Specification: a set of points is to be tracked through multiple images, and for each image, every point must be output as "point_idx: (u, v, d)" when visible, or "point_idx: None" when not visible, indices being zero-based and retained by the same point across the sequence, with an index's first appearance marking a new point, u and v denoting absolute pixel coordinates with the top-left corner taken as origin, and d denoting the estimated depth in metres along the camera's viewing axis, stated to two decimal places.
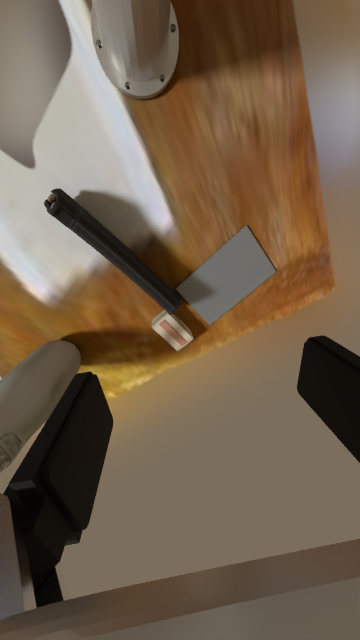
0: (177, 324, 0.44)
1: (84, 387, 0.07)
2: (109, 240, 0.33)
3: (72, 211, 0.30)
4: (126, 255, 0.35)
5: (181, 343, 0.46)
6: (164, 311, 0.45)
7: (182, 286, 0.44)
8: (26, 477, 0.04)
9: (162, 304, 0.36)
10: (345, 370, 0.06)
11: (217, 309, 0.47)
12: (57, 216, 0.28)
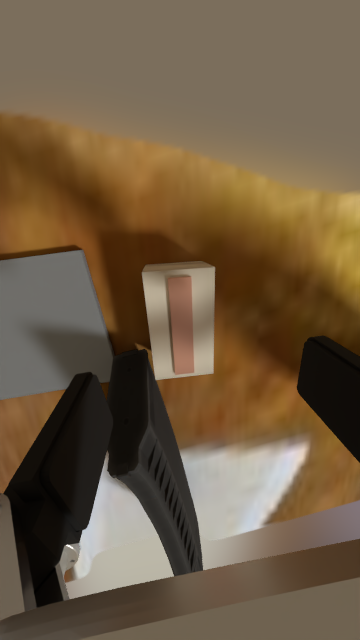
0: (154, 343, 0.15)
1: (84, 387, 0.07)
2: None
3: None
4: None
5: (184, 287, 0.13)
6: None
7: (103, 377, 0.20)
8: (26, 477, 0.04)
9: (142, 479, 0.13)
10: (345, 370, 0.06)
11: (38, 284, 0.16)
12: None
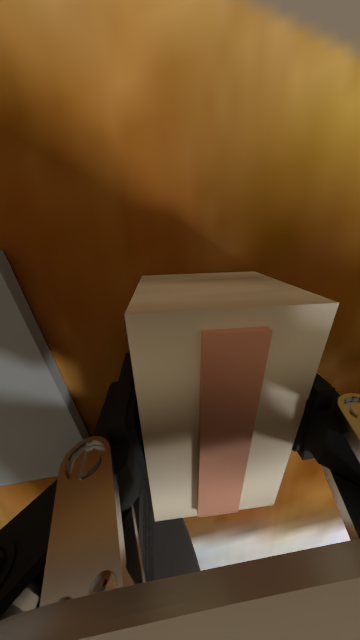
0: (156, 467, 0.06)
1: None
2: None
3: None
4: None
5: (248, 358, 0.05)
6: None
7: None
8: (117, 423, 0.05)
9: None
10: None
11: None
12: None
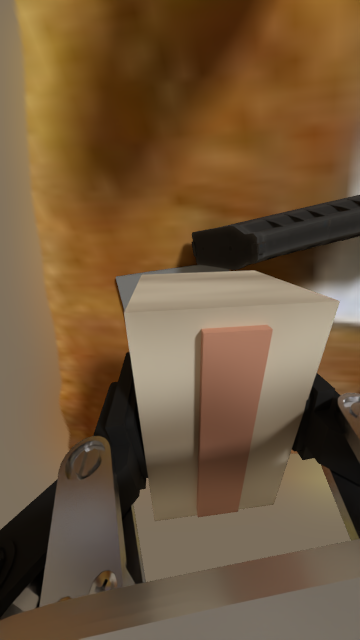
0: (155, 466, 0.06)
1: None
2: None
3: None
4: None
5: (248, 357, 0.05)
6: None
7: None
8: (117, 423, 0.05)
9: (285, 232, 0.13)
10: None
11: None
12: None
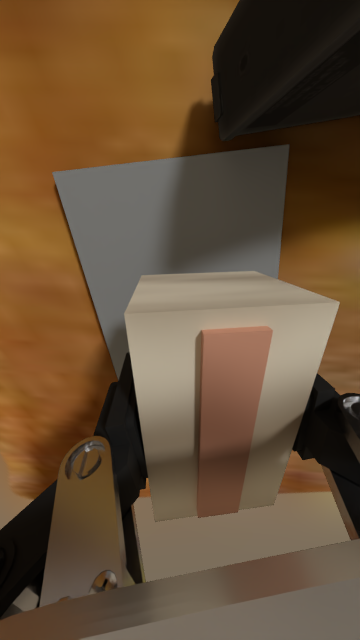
0: (156, 467, 0.06)
1: None
2: None
3: None
4: None
5: (248, 358, 0.05)
6: None
7: (275, 179, 0.11)
8: (117, 423, 0.05)
9: None
10: None
11: (112, 248, 0.12)
12: None
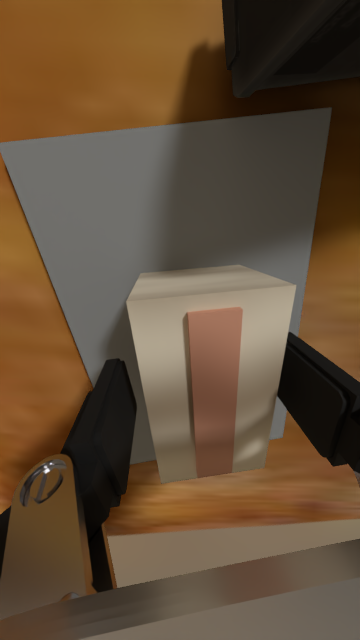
0: (159, 432, 0.08)
1: (116, 371, 0.08)
2: None
3: None
4: None
5: (225, 332, 0.06)
6: None
7: (310, 157, 0.08)
8: (83, 440, 0.05)
9: None
10: (302, 362, 0.07)
11: (89, 251, 0.09)
12: None
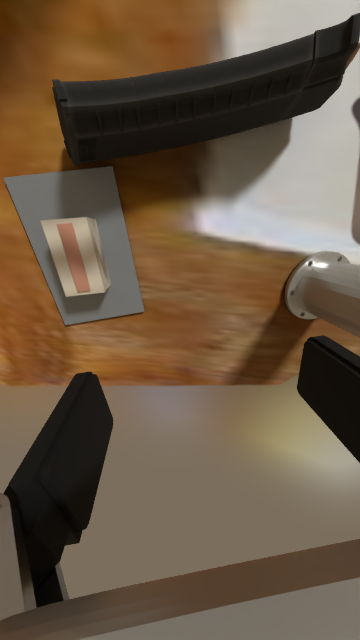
0: (59, 269, 0.24)
1: (84, 387, 0.07)
2: (244, 102, 0.19)
3: (317, 75, 0.18)
4: (208, 111, 0.19)
5: (68, 230, 0.22)
6: None
7: (110, 181, 0.25)
8: (26, 477, 0.04)
9: (88, 86, 0.15)
10: (345, 370, 0.06)
11: (36, 214, 0.25)
12: (343, 26, 0.15)
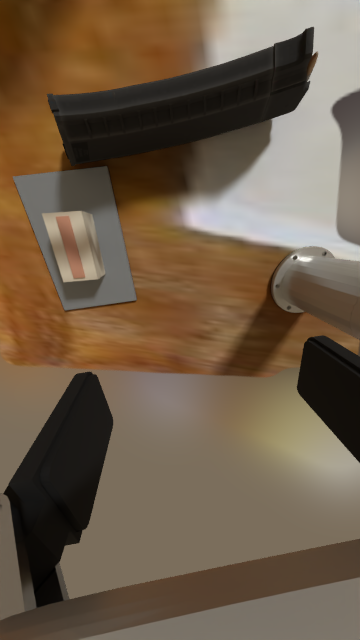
0: (58, 257, 0.27)
1: (84, 387, 0.07)
2: (217, 107, 0.21)
3: (281, 81, 0.19)
4: (185, 116, 0.21)
5: (66, 222, 0.25)
6: None
7: (105, 179, 0.28)
8: (26, 477, 0.04)
9: (76, 98, 0.18)
10: (345, 370, 0.06)
11: (40, 208, 0.28)
12: (298, 39, 0.17)
